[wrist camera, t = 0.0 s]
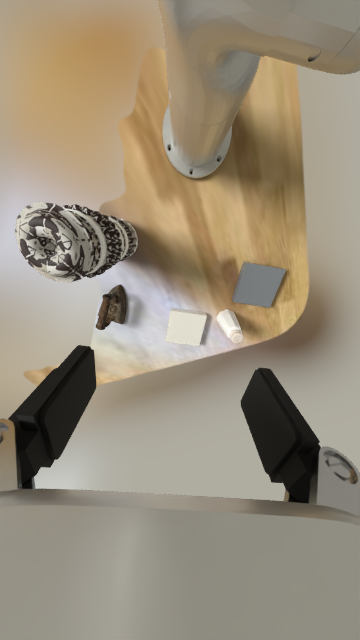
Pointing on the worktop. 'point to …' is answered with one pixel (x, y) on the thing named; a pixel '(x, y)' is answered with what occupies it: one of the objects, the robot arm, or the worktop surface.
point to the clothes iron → (112, 308)
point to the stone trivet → (185, 326)
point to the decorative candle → (72, 240)
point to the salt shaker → (230, 325)
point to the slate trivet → (257, 284)
